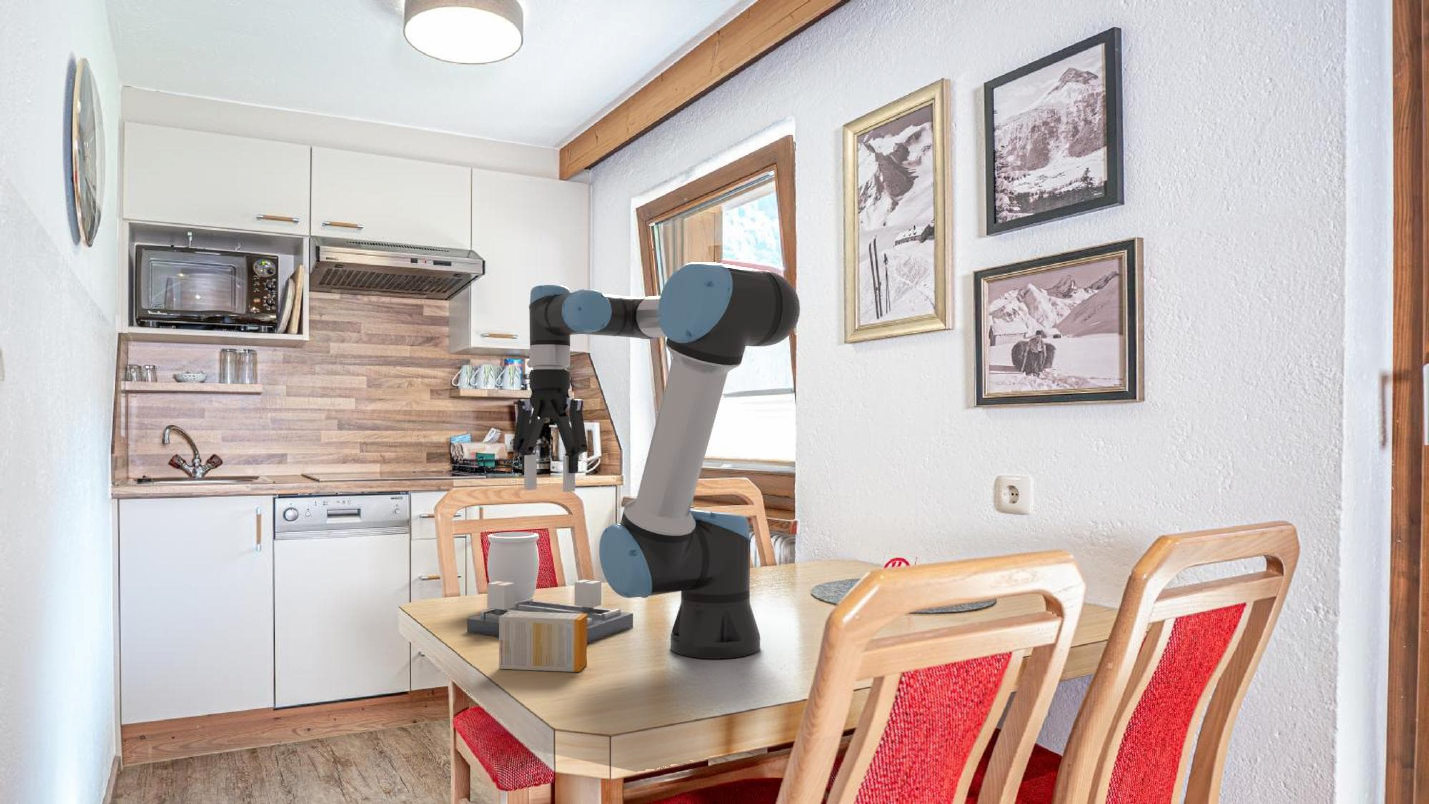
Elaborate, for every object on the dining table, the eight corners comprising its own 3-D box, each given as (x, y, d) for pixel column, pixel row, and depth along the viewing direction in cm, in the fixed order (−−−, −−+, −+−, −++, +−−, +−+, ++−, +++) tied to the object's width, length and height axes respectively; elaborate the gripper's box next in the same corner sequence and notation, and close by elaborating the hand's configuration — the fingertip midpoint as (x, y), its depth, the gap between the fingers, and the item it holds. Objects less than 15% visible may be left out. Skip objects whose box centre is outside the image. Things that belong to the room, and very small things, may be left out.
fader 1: (514, 613, 171) (514, 582, 171) (504, 616, 169) (504, 584, 169) (497, 611, 173) (497, 580, 173) (487, 614, 170) (487, 582, 170)
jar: (485, 604, 194) (485, 532, 194) (535, 601, 197) (536, 530, 197) (488, 614, 184) (489, 538, 184) (541, 611, 187) (542, 536, 187)
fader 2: (601, 611, 173) (601, 580, 173) (592, 614, 170) (592, 583, 170) (583, 609, 175) (583, 578, 175) (574, 612, 172) (574, 581, 172)
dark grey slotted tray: (633, 626, 173) (633, 607, 173) (574, 647, 157) (574, 627, 157) (530, 614, 184) (530, 596, 185) (466, 632, 169) (467, 613, 169)
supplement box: (588, 612, 147) (509, 609, 149) (579, 619, 142) (497, 615, 144) (588, 665, 147) (508, 661, 149) (579, 674, 142) (497, 669, 144)
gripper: (608, 368, 173) (607, 491, 172) (518, 371, 183) (518, 487, 182) (584, 366, 166) (583, 494, 166) (492, 369, 176) (492, 489, 176)
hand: (549, 490), depth 174 cm, fingers open, 8 cm apart
